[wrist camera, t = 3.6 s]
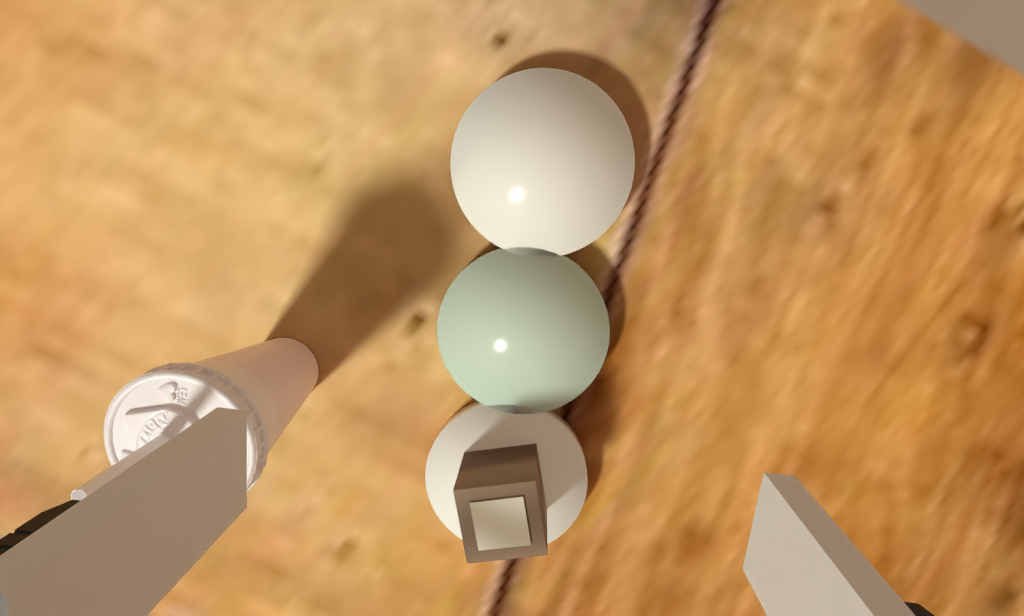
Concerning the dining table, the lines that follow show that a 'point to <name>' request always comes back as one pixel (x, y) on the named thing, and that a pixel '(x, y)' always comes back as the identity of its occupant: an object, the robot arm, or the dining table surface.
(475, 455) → the letter cube
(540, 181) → the saucer near
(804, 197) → the dining table surface
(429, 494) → the saucer far
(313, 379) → the smoothie
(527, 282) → the saucer mid
